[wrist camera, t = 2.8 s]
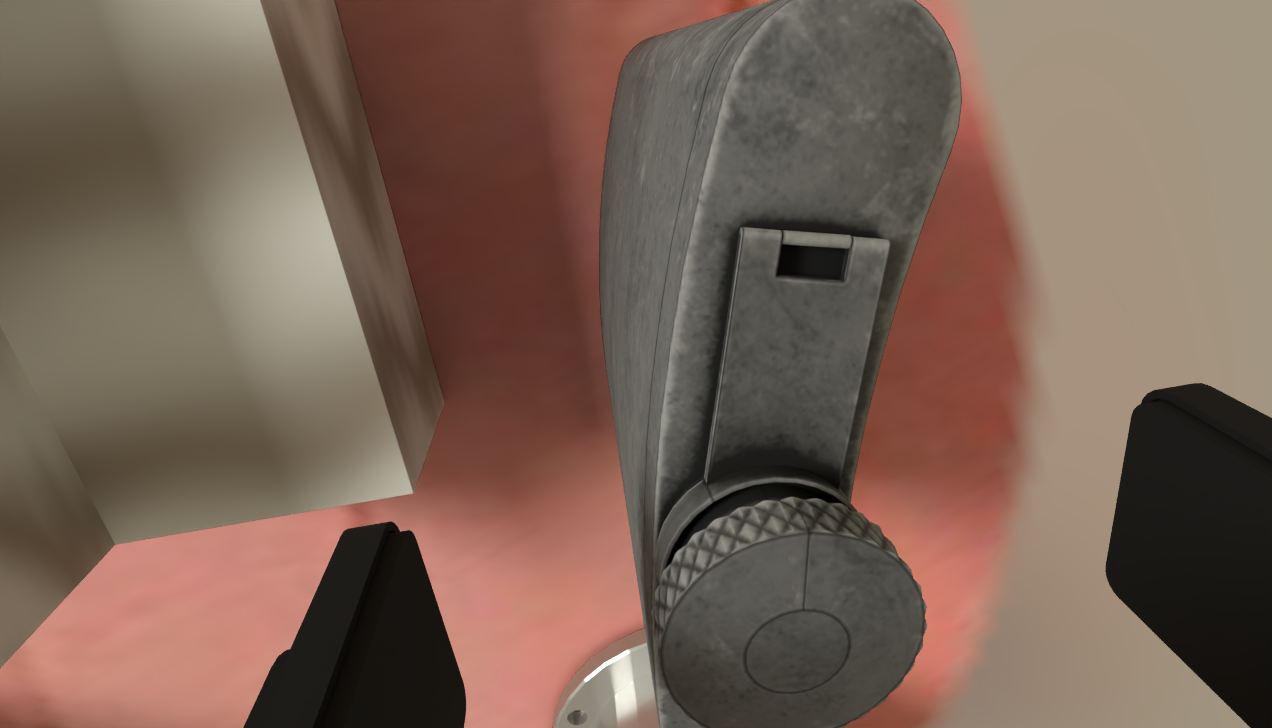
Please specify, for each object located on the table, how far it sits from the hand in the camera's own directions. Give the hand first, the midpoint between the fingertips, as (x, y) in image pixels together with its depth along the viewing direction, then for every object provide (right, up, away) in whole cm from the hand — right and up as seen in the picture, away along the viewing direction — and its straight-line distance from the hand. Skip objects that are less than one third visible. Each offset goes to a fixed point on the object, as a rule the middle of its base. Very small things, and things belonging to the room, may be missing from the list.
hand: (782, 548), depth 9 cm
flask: (-2, +6, +16) cm, 17 cm away
